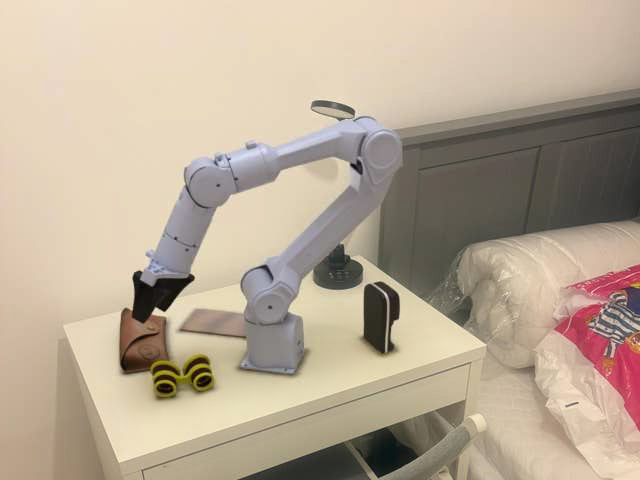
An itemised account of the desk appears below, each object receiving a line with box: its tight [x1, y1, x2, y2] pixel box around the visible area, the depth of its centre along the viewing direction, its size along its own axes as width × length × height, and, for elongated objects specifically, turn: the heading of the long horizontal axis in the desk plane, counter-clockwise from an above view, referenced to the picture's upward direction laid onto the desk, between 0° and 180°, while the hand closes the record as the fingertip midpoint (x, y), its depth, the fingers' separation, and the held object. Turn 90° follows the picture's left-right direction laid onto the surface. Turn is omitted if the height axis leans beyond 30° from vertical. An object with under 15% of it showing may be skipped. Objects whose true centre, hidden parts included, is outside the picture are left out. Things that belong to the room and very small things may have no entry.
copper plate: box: [179, 308, 246, 339], centre depth 124 cm, size 13×8×1 cm, turn 76°
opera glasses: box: [149, 353, 215, 398], centre depth 106 cm, size 10×5×5 cm, turn 107°
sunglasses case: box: [118, 307, 170, 374], centre depth 117 cm, size 18×7×7 cm
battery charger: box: [362, 280, 401, 354], centre depth 113 cm, size 7×4×11 cm, turn 28°
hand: (149, 314), depth 102 cm, fingers open, 7 cm apart
